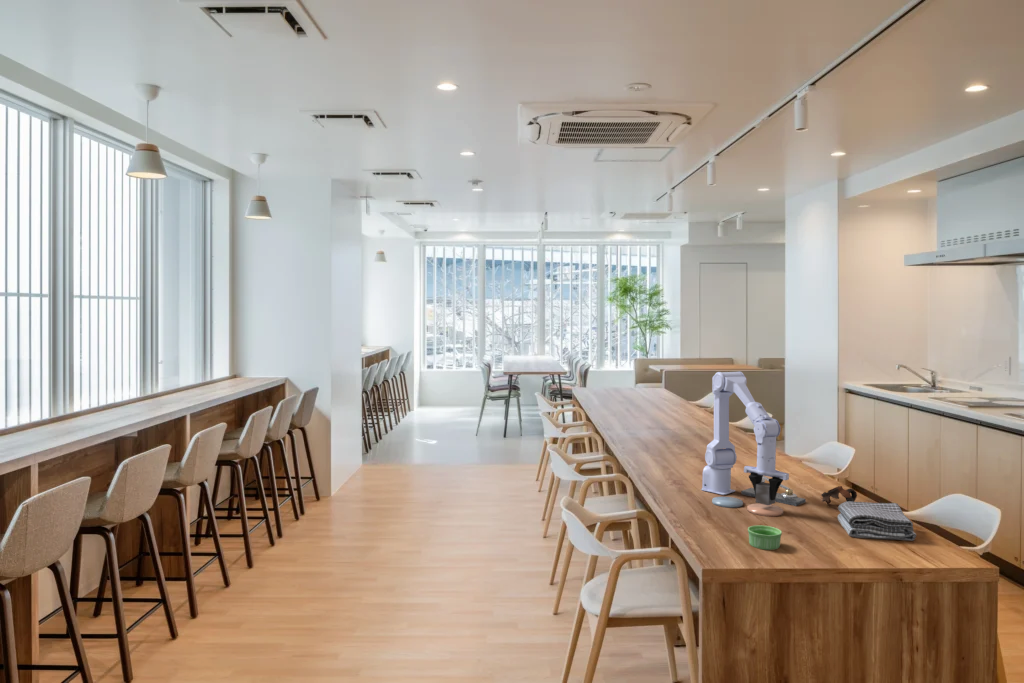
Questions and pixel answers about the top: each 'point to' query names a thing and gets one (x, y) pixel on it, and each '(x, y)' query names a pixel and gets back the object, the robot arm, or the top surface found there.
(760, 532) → the ramekin
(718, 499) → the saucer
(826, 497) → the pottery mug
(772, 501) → the block
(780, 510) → the dish
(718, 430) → the robot arm
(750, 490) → the balance
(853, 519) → the towel
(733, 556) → the top surface
